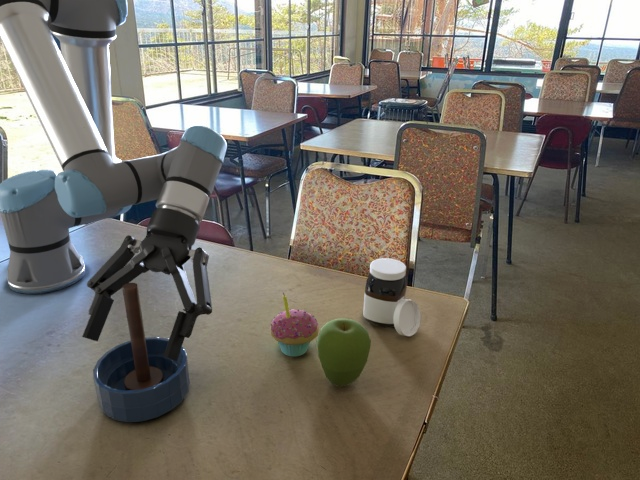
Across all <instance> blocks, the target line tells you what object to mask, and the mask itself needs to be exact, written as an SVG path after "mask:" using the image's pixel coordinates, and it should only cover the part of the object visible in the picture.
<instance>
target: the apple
mask: <svg viewBox="0 0 640 480" xmlns="http://www.w3.org/2000/svg"><path fill="white" fill-rule="evenodd" d="M315 343H316V350H317V356H318V359H319V362H320V364H321V367H322V371H323V373H324V376H325V378H326V379H327V380H328V381H329V382H330V383H332V384H333V385H334V386H336V387H345V386H348V385H351V384H353V382H355V381H357V380H358V379H359V378H360V376H361V374H362V372H363V370H364V368H365V366H366V364H367V363H368V359H369V356H370V355H369V354H370V351H371V346H372V340H371V337H370V333H369V331H368V330H367V328H366V327H365V326H363V325H362V324H361V323H360V322H358V321H357V320H354V319H351V318H335V319H332V320H330V321H328V322H326V323H325V324H324V325H323V326H322V327H321V328H320V331H319V332H318V336H317V338H316V342H315Z"/></svg>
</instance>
